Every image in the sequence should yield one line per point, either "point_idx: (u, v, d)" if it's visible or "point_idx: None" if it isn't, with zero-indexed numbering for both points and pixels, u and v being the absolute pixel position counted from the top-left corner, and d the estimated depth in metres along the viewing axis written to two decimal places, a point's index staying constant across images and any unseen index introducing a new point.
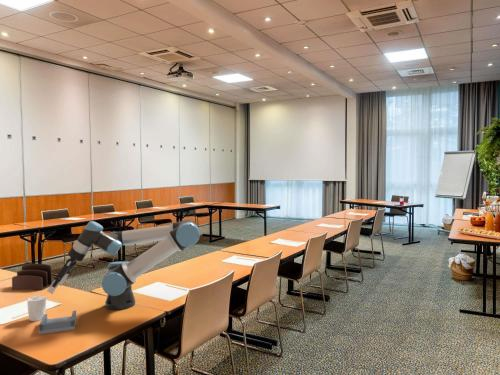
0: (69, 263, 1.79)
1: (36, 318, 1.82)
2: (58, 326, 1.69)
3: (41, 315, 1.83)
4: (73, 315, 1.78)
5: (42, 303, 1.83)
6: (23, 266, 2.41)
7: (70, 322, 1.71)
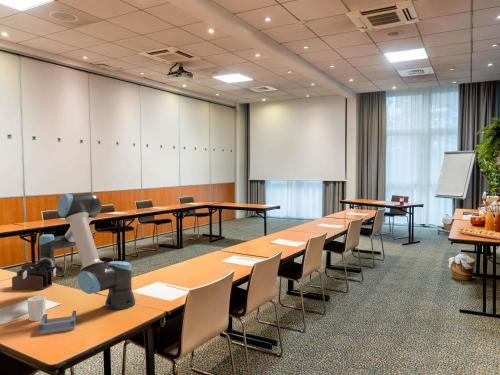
0: None
1: (36, 318, 1.82)
2: (58, 326, 1.69)
3: (41, 315, 1.83)
4: (73, 315, 1.78)
5: (42, 303, 1.83)
6: (23, 266, 2.41)
7: (70, 322, 1.71)
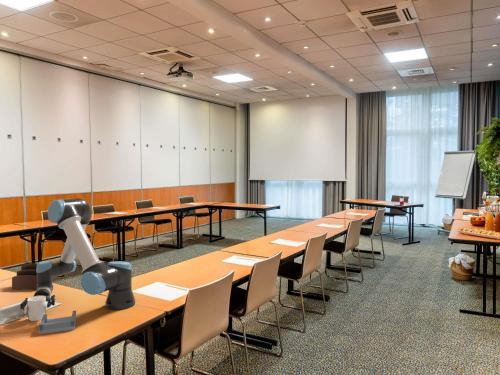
0: (25, 300, 1.93)
1: (36, 318, 1.82)
2: (58, 326, 1.69)
3: (41, 315, 1.83)
4: (73, 315, 1.78)
5: (42, 303, 1.83)
6: (22, 266, 2.41)
7: (70, 322, 1.71)
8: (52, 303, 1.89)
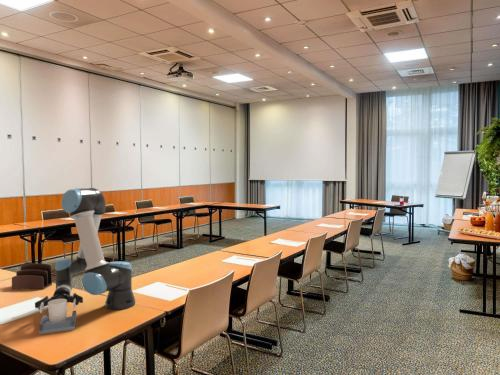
0: None
1: None
2: (58, 326, 1.69)
3: (62, 319, 1.74)
4: (73, 315, 1.78)
5: (63, 306, 1.74)
6: (22, 266, 2.41)
7: (70, 322, 1.71)
8: (81, 300, 1.82)
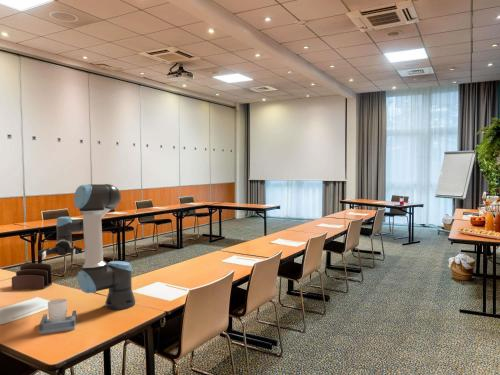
0: None
1: None
2: (58, 326, 1.69)
3: (62, 319, 1.74)
4: (73, 315, 1.78)
5: (63, 306, 1.74)
6: (22, 266, 2.41)
7: (70, 322, 1.71)
8: (80, 251, 1.98)
